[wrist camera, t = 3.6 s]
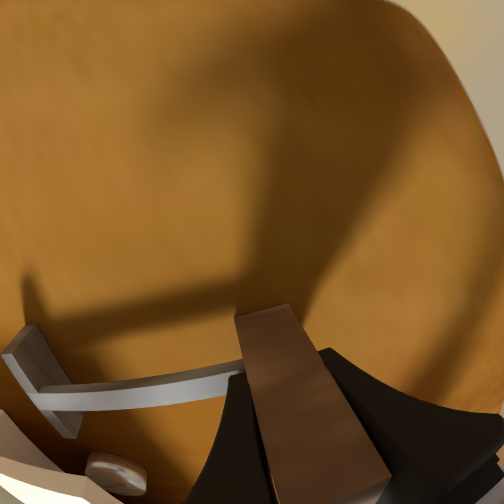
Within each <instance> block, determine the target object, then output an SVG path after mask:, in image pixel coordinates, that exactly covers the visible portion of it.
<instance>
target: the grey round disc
mask: <svg viewBox="0 0 504 504" xmlns="http://www.w3.org/2000/svg"><path fill="white" fill-rule="evenodd" d="M85 476H87V477H88V478H89V479H90V480H92V481H93V482H94V483H95V484H97V485H98V486H99V487H101V488H102V489H104V490H107V491H109V492H112V493H116V494H120V495H126V496H140V495H143V494H145V493H146V483H147V471H146V470H145V469H144V468H143V467H142V466H141V465H139V464H138V463H136V462H134V461H132V460H130V459H128V458H125V457H122V456H119V455H116V454H112V453H106V452H94V453H91V454H90V455H89V457H88V461H87V465H86V469H85Z"/></svg>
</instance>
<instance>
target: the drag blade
mask: <svg viewBox="0 0 504 504" xmlns="http://www.w3.org/2000/svg"><path fill="white" fill-rule="evenodd" d="M234 320H235V325H236V330H237V334H238V339H239V343H240V348H241V352H242V357H243V359H240V360H235V361H231V362H227V363H222V364H218V365H213V366H208V367H203V368H198V369H193V370H188V371H183V372H177V373H171V374H165V375H159V376H152V377H146V378H138V379H130V380H122V381H113V382H103V383H91V384H77V385H72V383H71V382H70V380H69V379H68V377H67V376H66V374H65V373H64V371H63V369H62V368H61V366H60V365H59V363H58V361H57V360H56V358H55V356H54V355H53V353H52V351H51V350H50V348H49V346H48V344H47V343H46V341H45V339H44V337H43V335H42V333H41V331H40V330H39V328H38V326H37V324H31V325H26V326H24V327H23V329H22V330H21V331H20V332H19V333H18V334H17V335H16V337H15V338H14V339H13V340H12V341H11V343H10V344H9V345H8V346H7V347H6V349H5V350H4V351H3V352H2V354H1V356H2V358H3V359H4V361H5V363H6V364H7V366H8V367H9V369H10V370H11V372H12V373H13V375H14V376H15V378H16V379H17V381H18V382H19V384H20V385H21V387H22V388H23V389H24V391H25V392H26V394H27V395H28V396H29V398H30V399H31V400H32V401H33V403H34V404H35V405H36V407H37V408H38V409H39V410H40V412H41V413H42V414H43V415H44V416H45V418H46V419H47V420H48V421H49V422H50V423H51V424H52V426H53V427H54V428H55V429H56V430H57V431H58V432H59V433H60V434H61V436H62V437H63V438H70V439H77V435H78V432H79V429H80V426H81V423H82V420H83V417H84V414H85V411H102V410H121V409H134V408H145V407H154V406H162V405H170V404H177V403H184V402H190V401H196V400H202V399H207V398H213V397H218V396H223V395H227V387H228V378H229V376H230V375H234V374H238V373H243V372H246V374H247V379H248V383H249V384H250V390H251V395H252V400H253V404H254V408H255V412H256V416H257V420H258V424H259V428H260V432H261V436H262V440H263V443H264V447H265V451H266V455H267V459H268V462H269V466H270V470H271V474H272V477H273V481H274V484H275V488H276V492H277V495H278V499H279V502H280V504H375V503H376V502H377V500H378V499H379V497H380V496H381V494H382V492H383V491H384V489H385V487H386V486H387V484H388V482H389V481H390V479H391V477H392V475H391V473H390V472H389V470H388V468H387V467H386V465H385V463H384V462H383V460H382V458H381V457H380V455H379V453H378V452H377V450H376V448H375V447H374V445H373V443H372V442H371V440H370V438H369V437H368V435H367V433H366V431H365V430H364V428H363V426H362V425H361V423H360V421H359V420H358V418H357V416H356V415H355V413H354V411H353V410H352V408H351V406H350V405H349V403H348V401H347V400H346V398H345V396H344V395H343V393H342V392H341V390H340V388H339V387H338V385H337V383H336V382H335V380H334V378H333V377H332V375H331V373H330V372H329V370H328V369H327V368H326V366H325V365H324V364H323V360H322V358H321V357H320V355H319V353H318V352H317V350H316V348H315V347H314V345H313V343H312V342H311V340H310V339H309V337H308V335H307V334H306V332H305V330H304V329H303V327H302V325H301V324H300V322H299V320H298V319H297V317H296V315H295V314H294V312H293V310H292V309H291V307H290V306H289V304H288V303H286V304H282V305H279V306H275V307H271V308H268V309H264V310H260V311H256V312H252V313H248V314H244V315H240V316H236V317H234Z"/></svg>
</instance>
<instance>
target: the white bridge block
mask: <svg viewBox="0 0 504 504" xmlns="http://www.w3.org/2000/svg"><path fill="white" fill-rule="evenodd" d="M0 485H1V486H2V487H3V488H5V489H6V490H7V491H8V492H10V493H11V494H12V495H14V496H15V497H16V498H18V499H19V500H20V501H22V502H23V503H25V504H123V503H122V502H120V501H119V500H117V499H116V498H114V497H113V496H112V495H110V494H109V493H107V492H106V491H105V490H103V489H102V488H101V487H99V486H98V485H97V484H95V483H94V482H93V481H92V480H90V479H89V478H88V477H87V476H80V475H73V474H67V473H64V472H63V471H62V470H61V469H60V468H59V467H57V466H56V465H55V464H54V463H53V462H52V461H51V460H50V459H49V458H47V457H46V456H45V455H44V454H43V453H42V452H41V451H40V450H39V449H38V448H37V447H36V446H35V445H34V444H33V443H32V442H31V441H30V440H29V439H28V438H27V437H26V436H25V435H24V434H23V432H22V431H21V430H20V429H19V428H18V427H17V426H16V425H15V424H14V422H13V421H12V420H11V419H10V418H9V417H8V415H7V414H6V413H5V412H4V410H0Z"/></svg>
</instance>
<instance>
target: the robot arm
mask: <svg viewBox="0 0 504 504" xmlns="http://www.w3.org/2000/svg"><path fill="white" fill-rule="evenodd" d="M317 352H318V353H319V355H320V357H321V358H322V360H323V364H324V365H325V366H326V368H327V369H328V370H329V372H330V373H331V375H332V377H333V378H334V380H335V382H336V383H337V385H338V387H339V388H340V390H341V392H342V393H343V395H344V396H345V398H346V400H347V401H348V403H349V405H350V406H351V408H352V410H353V411H354V413H355V415H356V416H357V418H358V420H359V421H360V423H361V425H362V426H363V428H364V430H365V431H366V433H367V435H368V437H369V438H370V440H371V442H372V443H373V445H374V447H375V448H376V450H377V452H378V453H379V455H380V457H381V458H382V460H383V462H384V463H385V465H386V467H387V468H388V470H389V472H390V473H391V475H392V477H391V479H390V481H389V482H388V484H387V486H386V487H385V489H384V491H383V492H382V494H381V496H380V497H379V499H378V500H377V502H376V503H375V504H504V464H503V465H502V466H501V467H499V466H498V464H497V462H498V461H499V458H498V456H497V455H496V452H498V450H499V449H500V448H501V447H502V446H503V444H504V418H503V417H502V416H500V415H499V414H490V413H474V412H467V411H460V410H455V409H450V408H446V407H442V406H438V405H435V404H431V403H428V402H425V401H422V400H419V399H416V398H414V397H412V396H409V395H407V394H404V393H402V392H400V391H398V390H396V389H394V388H392V387H390V386H388V385H386V384H384V383H383V382H381V381H379V380H377V379H376V378H374V377H372V376H371V375H369V374H368V373H366V372H364V371H363V370H361V369H360V368H358V367H357V366H355V365H354V364H352V363H351V362H350V361H348V360H347V359H345V358H344V357H343V356H341V355H340V354H339V353H337V352H336V351H335V350H333V349H332V348H330V347H329V348H326V349H323V350H320V351H317ZM183 504H279V502H278V499H277V495H276V492H275V489H274V485H273V481H272V476H271V470H270V466H269V462H268V459H267V455H266V451H265V447H264V443H263V440H262V436H261V432H260V428H259V424H258V420H257V416H256V412H255V408H254V404H253V400H252V395H251V390H250V384H249V383H248V379H247V374H246V372H243V373H238V374H234V375H230V376H229V378H228V387H227V395H226V400H225V405H224V410H223V414H222V418H221V422H220V425H219V428H218V432H217V435H216V438H215V441H214V444H213V446H212V449H211V452H210V454H209V456H208V459H207V461H206V463H205V465H204V468H203V470H202V472H201V473H200V475H199V477H198V479H197V481H196V483H195V485H194V487H193V488H192V490H191V492H190V493H189V495H188V496H187V498H186V499H185V501H184V502H183Z"/></svg>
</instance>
